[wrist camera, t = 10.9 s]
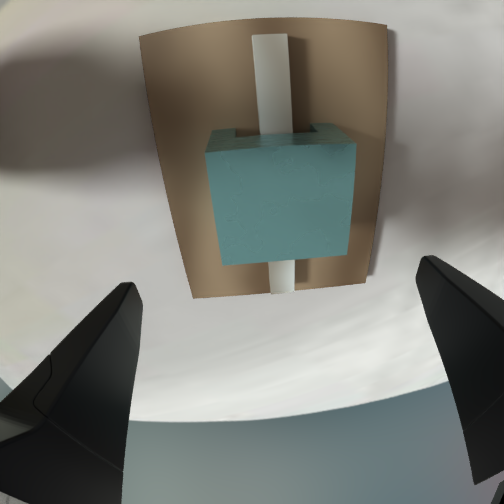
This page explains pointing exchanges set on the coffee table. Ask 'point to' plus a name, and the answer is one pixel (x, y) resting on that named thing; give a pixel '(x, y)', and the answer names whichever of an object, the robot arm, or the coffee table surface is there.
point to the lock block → (281, 193)
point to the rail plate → (265, 129)
